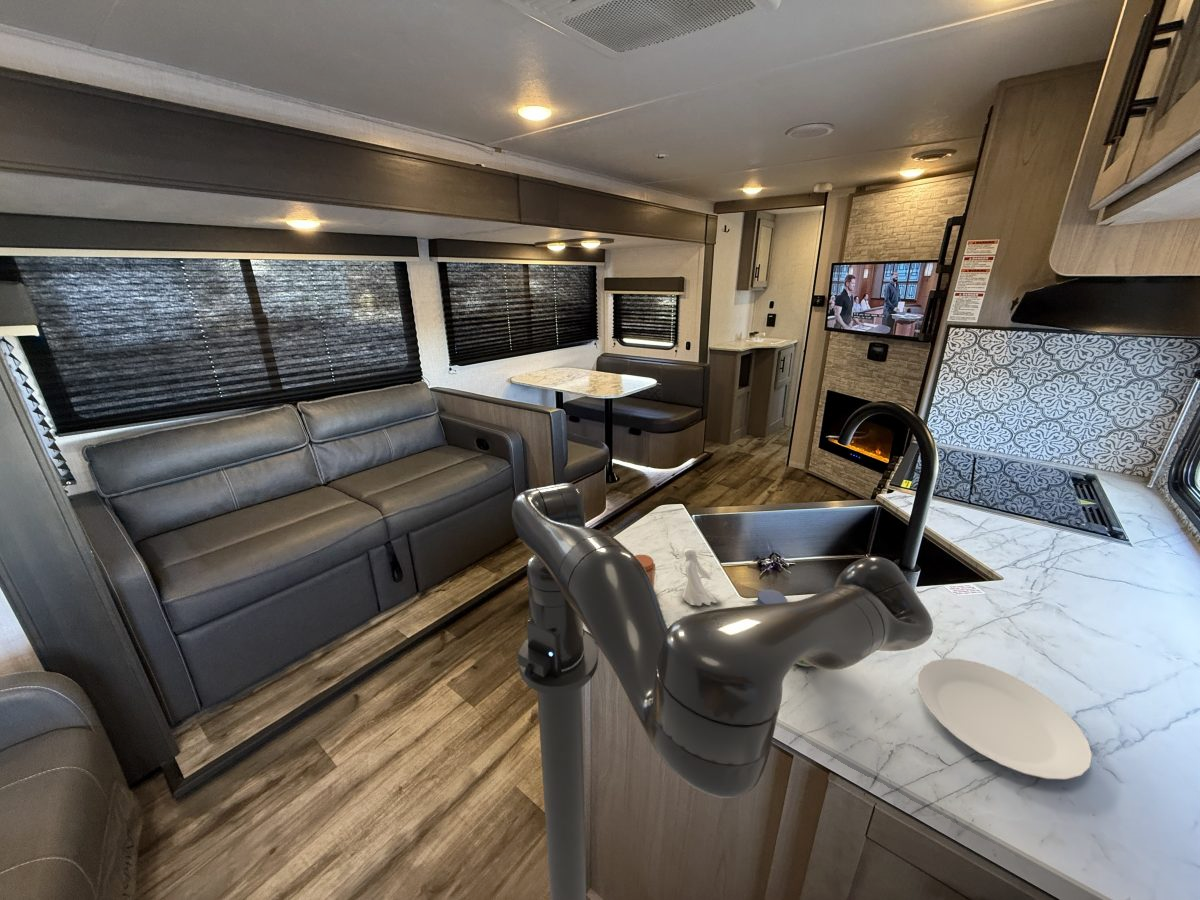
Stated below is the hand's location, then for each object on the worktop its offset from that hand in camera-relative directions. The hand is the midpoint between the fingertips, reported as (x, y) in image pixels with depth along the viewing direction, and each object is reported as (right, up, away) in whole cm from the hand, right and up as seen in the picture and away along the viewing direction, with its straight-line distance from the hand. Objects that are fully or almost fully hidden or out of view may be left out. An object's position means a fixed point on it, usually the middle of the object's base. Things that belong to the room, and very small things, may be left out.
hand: (804, 624), depth 84 cm
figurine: (-16, -1, +16) cm, 22 cm away
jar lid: (-1, 0, +14) cm, 14 cm away
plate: (+24, -11, -12) cm, 29 cm away
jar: (-29, 0, +16) cm, 33 cm away
